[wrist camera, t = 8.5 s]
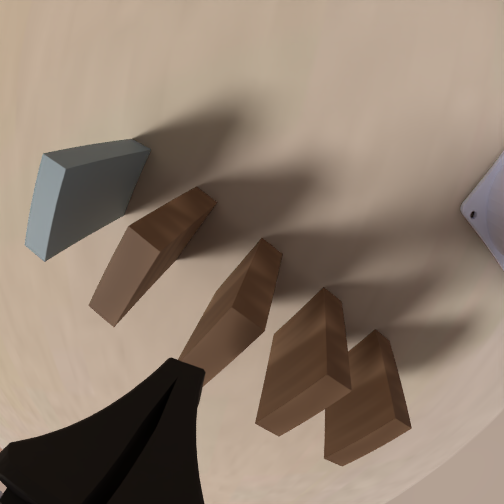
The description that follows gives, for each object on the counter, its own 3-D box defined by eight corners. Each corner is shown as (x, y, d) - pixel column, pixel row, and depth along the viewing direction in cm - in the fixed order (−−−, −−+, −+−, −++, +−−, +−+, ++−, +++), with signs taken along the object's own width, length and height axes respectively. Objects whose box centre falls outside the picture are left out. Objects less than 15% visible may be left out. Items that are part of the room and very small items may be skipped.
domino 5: (389, 340, 20) (411, 428, 13) (339, 379, 22) (342, 466, 15) (375, 329, 20) (395, 418, 13) (325, 369, 22) (323, 458, 15)
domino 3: (282, 253, 19) (264, 330, 12) (235, 305, 21) (199, 389, 14) (262, 237, 19) (231, 306, 12) (216, 291, 21) (171, 370, 14)
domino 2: (217, 202, 19) (160, 252, 12) (175, 260, 21) (114, 327, 14) (196, 186, 19) (128, 226, 11) (157, 245, 21) (88, 305, 13)
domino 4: (341, 301, 20) (351, 390, 13) (291, 346, 22) (279, 436, 15) (323, 287, 20) (326, 374, 13) (273, 334, 22) (254, 423, 14)
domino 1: (151, 149, 18) (66, 168, 11) (123, 215, 20) (44, 262, 13) (131, 138, 18) (43, 153, 11) (106, 204, 20) (24, 245, 13)
